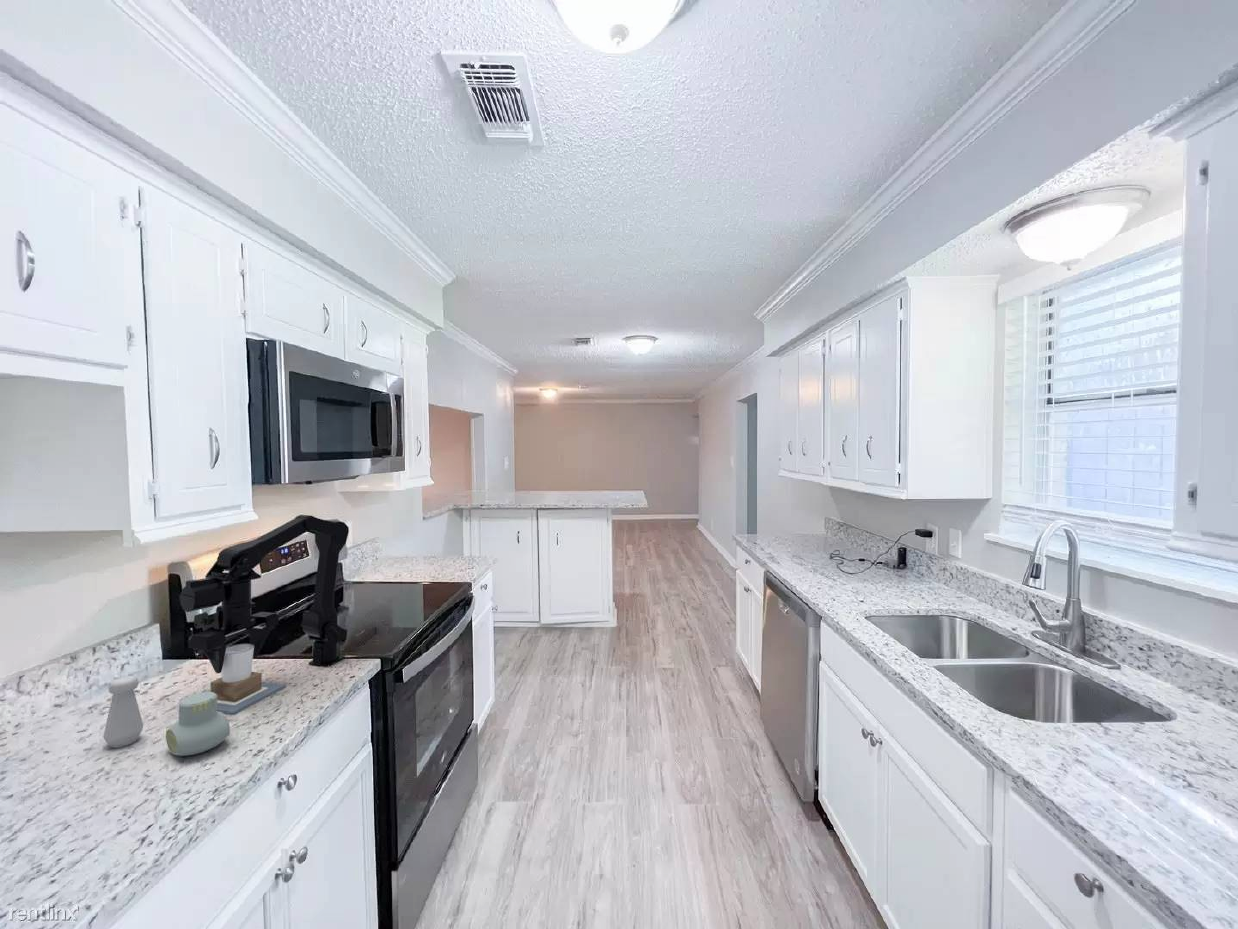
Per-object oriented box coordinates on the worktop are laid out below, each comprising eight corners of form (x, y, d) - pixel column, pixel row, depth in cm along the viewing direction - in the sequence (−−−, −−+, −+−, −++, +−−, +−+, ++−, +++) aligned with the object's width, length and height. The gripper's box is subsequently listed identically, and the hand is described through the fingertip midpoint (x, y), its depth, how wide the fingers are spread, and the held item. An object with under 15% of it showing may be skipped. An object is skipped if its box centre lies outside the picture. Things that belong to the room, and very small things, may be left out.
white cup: (214, 685, 120) (214, 655, 120) (224, 673, 126) (224, 645, 126) (249, 681, 122) (249, 651, 122) (257, 669, 129) (257, 641, 129)
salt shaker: (98, 745, 103) (98, 680, 103) (135, 731, 108) (135, 670, 108) (111, 753, 101) (110, 687, 100) (148, 739, 106) (148, 676, 105)
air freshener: (162, 747, 103) (162, 698, 103) (213, 730, 110) (213, 683, 110) (181, 767, 97) (181, 714, 97) (233, 747, 104) (233, 698, 103)
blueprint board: (239, 681, 133) (239, 678, 133) (285, 687, 130) (285, 684, 130) (183, 707, 119) (183, 704, 119) (233, 714, 116) (233, 711, 116)
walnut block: (261, 689, 127) (261, 673, 127) (235, 702, 120) (235, 685, 120) (237, 686, 128) (237, 670, 128) (210, 699, 122) (210, 682, 121)
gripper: (244, 588, 135) (244, 647, 135) (168, 609, 116) (168, 678, 117) (280, 591, 132) (280, 651, 133) (208, 613, 114) (209, 683, 114)
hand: (236, 665), depth 124 cm, fingers open, 9 cm apart
